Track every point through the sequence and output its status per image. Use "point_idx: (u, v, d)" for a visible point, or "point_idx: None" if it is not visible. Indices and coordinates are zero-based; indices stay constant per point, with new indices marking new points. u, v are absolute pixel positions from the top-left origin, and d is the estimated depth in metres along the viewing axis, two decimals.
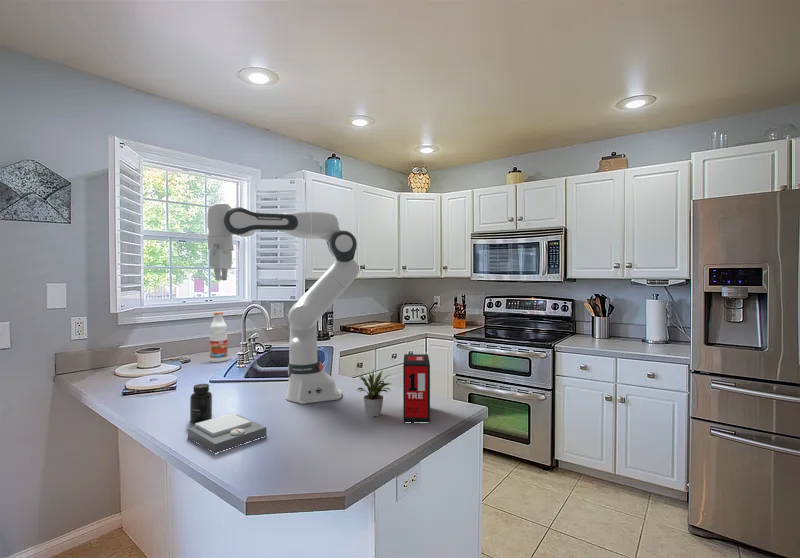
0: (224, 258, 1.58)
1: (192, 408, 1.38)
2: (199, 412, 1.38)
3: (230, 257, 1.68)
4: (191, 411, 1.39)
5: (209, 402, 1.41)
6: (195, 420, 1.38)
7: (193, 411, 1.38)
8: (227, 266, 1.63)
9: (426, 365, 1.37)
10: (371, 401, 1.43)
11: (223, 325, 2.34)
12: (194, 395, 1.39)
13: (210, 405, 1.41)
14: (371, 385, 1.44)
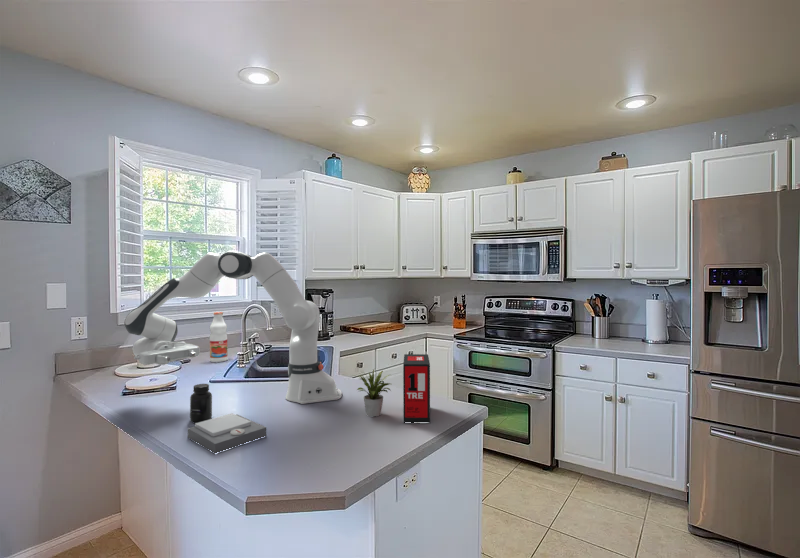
0: (163, 350, 1.51)
1: (192, 408, 1.38)
2: (199, 412, 1.38)
3: (188, 345, 1.60)
4: (191, 411, 1.39)
5: (209, 402, 1.41)
6: (195, 420, 1.38)
7: (193, 411, 1.38)
8: (180, 349, 1.53)
9: (426, 365, 1.37)
10: (371, 401, 1.43)
11: (223, 325, 2.34)
12: (194, 395, 1.39)
13: (210, 405, 1.41)
14: (371, 385, 1.44)
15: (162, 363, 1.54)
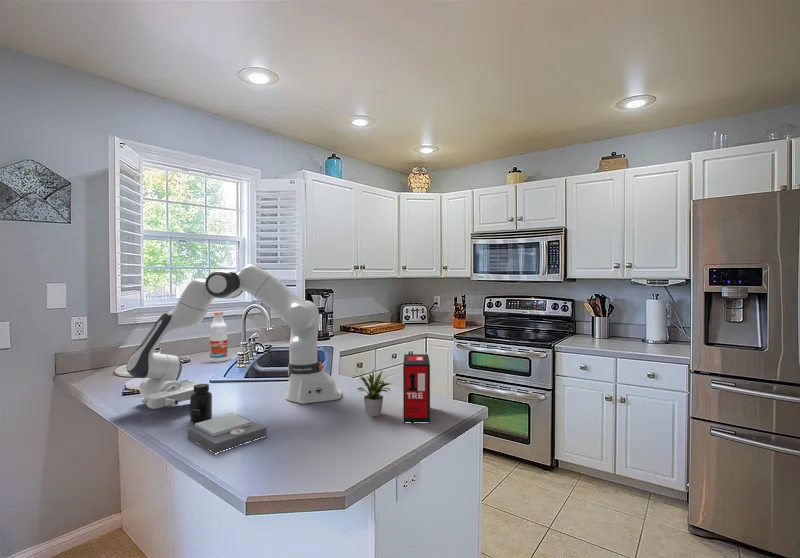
0: (171, 391, 1.49)
1: (192, 408, 1.38)
2: (199, 412, 1.38)
3: (195, 384, 1.58)
4: (191, 411, 1.39)
5: (209, 402, 1.41)
6: (195, 420, 1.38)
7: (193, 411, 1.38)
8: (188, 389, 1.51)
9: (426, 365, 1.37)
10: (371, 401, 1.43)
11: (223, 325, 2.34)
12: (194, 395, 1.39)
13: (210, 405, 1.41)
14: (371, 385, 1.44)
15: None
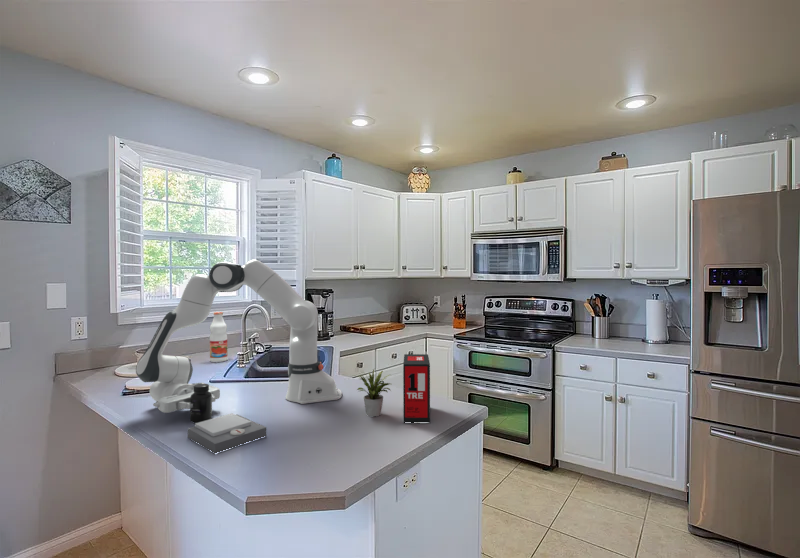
0: (183, 395, 1.44)
1: (192, 408, 1.38)
2: (199, 412, 1.38)
3: None
4: (191, 411, 1.39)
5: (209, 402, 1.41)
6: (195, 420, 1.38)
7: (193, 411, 1.38)
8: None
9: (426, 365, 1.37)
10: (371, 401, 1.43)
11: (223, 325, 2.34)
12: (194, 395, 1.39)
13: (210, 405, 1.41)
14: (371, 385, 1.44)
15: None
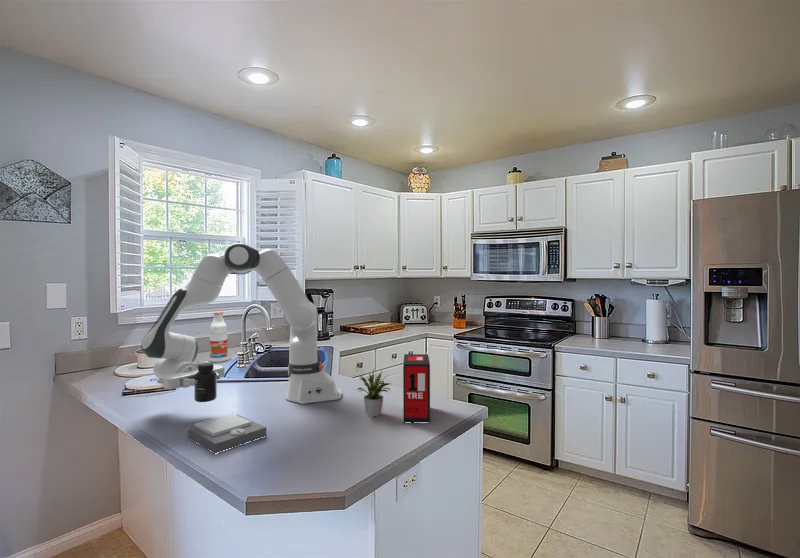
0: (187, 372, 1.41)
1: (197, 387, 1.35)
2: (204, 391, 1.35)
3: None
4: (195, 390, 1.36)
5: (214, 381, 1.38)
6: (200, 399, 1.35)
7: (197, 390, 1.35)
8: None
9: (426, 365, 1.37)
10: (371, 401, 1.43)
11: (223, 325, 2.34)
12: (198, 374, 1.36)
13: (215, 385, 1.38)
14: (371, 385, 1.44)
15: (186, 386, 1.44)
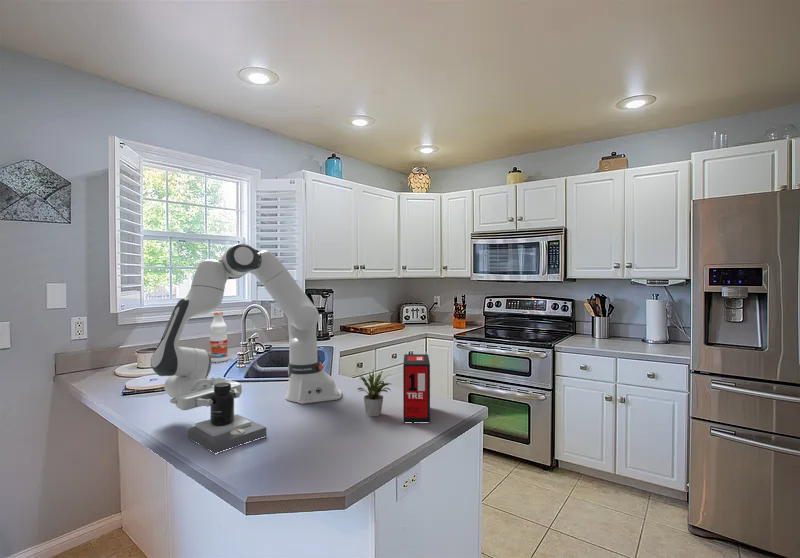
0: (203, 390, 1.30)
1: (213, 410, 1.25)
2: (221, 414, 1.25)
3: (229, 382, 1.39)
4: (212, 413, 1.25)
5: (231, 403, 1.27)
6: (217, 423, 1.25)
7: (214, 412, 1.25)
8: None
9: (426, 365, 1.37)
10: (371, 401, 1.43)
11: (223, 325, 2.34)
12: (215, 395, 1.25)
13: (232, 407, 1.28)
14: (371, 385, 1.44)
15: None
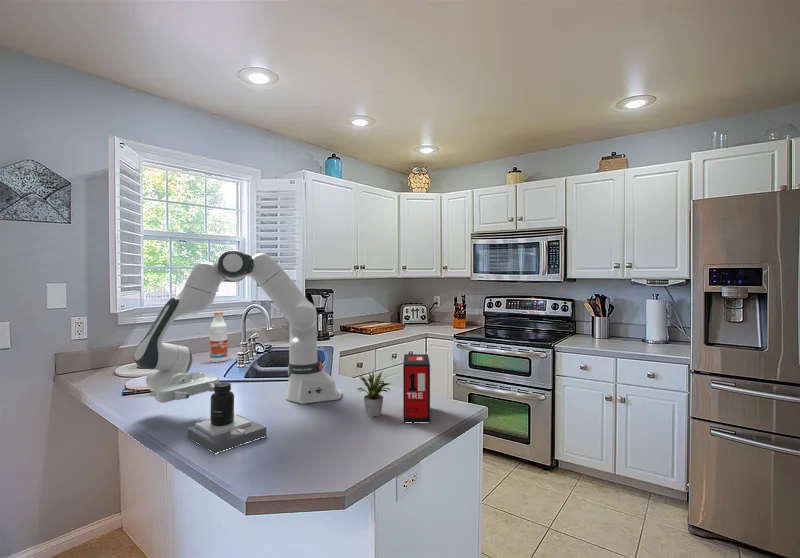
0: (181, 384, 1.37)
1: (213, 410, 1.25)
2: (221, 414, 1.25)
3: (207, 377, 1.46)
4: (212, 413, 1.25)
5: (231, 403, 1.27)
6: (216, 423, 1.25)
7: (214, 412, 1.25)
8: (199, 382, 1.40)
9: (426, 365, 1.37)
10: (371, 401, 1.43)
11: (223, 325, 2.34)
12: (215, 395, 1.25)
13: (232, 407, 1.28)
14: (371, 385, 1.44)
15: None
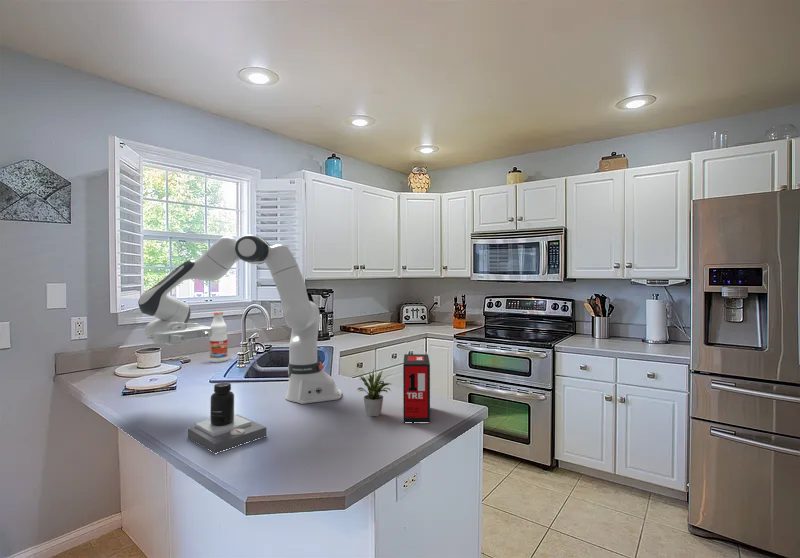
0: (176, 330, 1.50)
1: (213, 410, 1.25)
2: (221, 414, 1.25)
3: (201, 326, 1.58)
4: (212, 413, 1.25)
5: (231, 403, 1.27)
6: (216, 423, 1.25)
7: (214, 412, 1.25)
8: (193, 329, 1.52)
9: (426, 365, 1.37)
10: (371, 401, 1.43)
11: (223, 325, 2.34)
12: (215, 395, 1.25)
13: (232, 407, 1.28)
14: (371, 385, 1.44)
15: (175, 344, 1.53)
